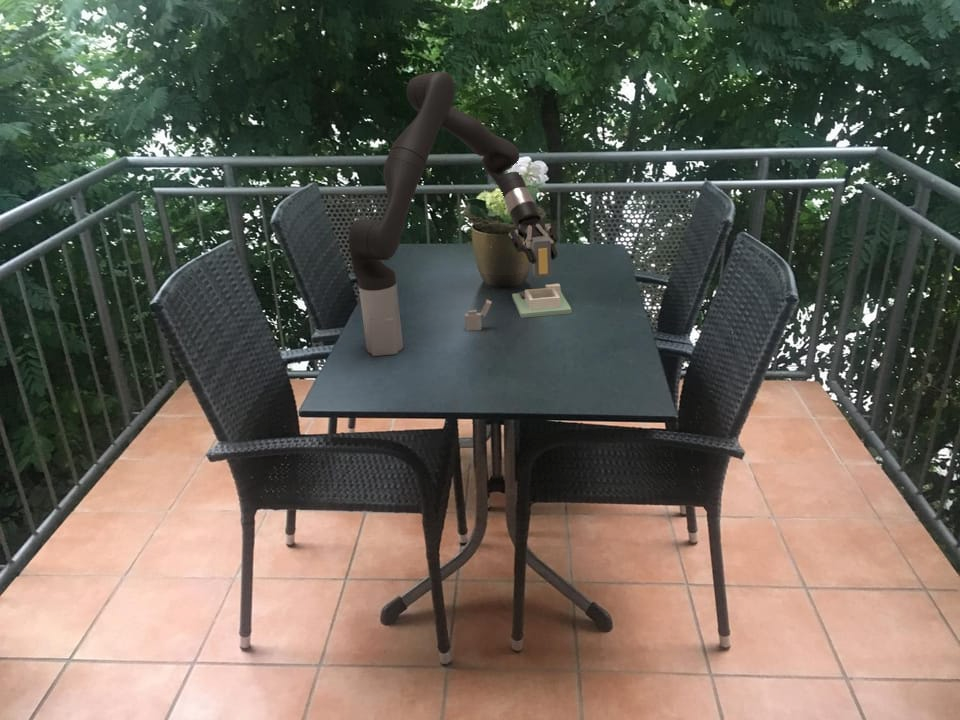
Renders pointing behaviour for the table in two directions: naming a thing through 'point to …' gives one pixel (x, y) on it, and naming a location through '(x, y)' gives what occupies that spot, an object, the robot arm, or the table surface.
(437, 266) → the table surface
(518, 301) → the board
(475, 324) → the lighter
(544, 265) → the grey yellow block
